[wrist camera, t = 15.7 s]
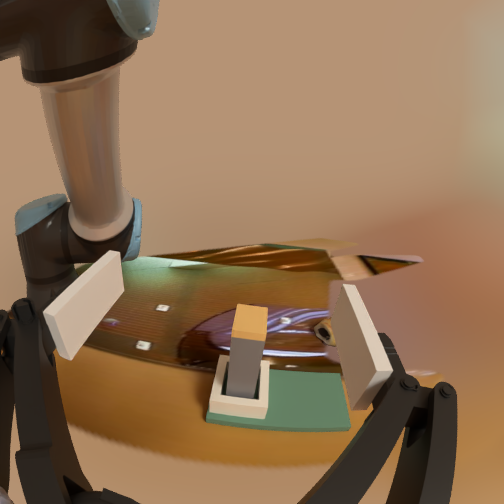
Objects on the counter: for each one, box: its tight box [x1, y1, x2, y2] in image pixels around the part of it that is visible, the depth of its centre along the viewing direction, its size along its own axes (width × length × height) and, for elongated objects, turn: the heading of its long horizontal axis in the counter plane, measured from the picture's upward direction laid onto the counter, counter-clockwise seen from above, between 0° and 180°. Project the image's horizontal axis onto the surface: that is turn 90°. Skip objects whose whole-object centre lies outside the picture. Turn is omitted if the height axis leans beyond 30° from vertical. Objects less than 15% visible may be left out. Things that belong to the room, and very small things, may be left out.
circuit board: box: [206, 369, 351, 432], centre depth 36 cm, size 20×11×1 cm, turn 86°
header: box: [209, 355, 269, 419], centre depth 35 cm, size 7×9×3 cm
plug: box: [226, 304, 268, 399], centre depth 33 cm, size 4×5×14 cm
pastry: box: [314, 317, 337, 347], centre depth 51 cm, size 9×7×4 cm
